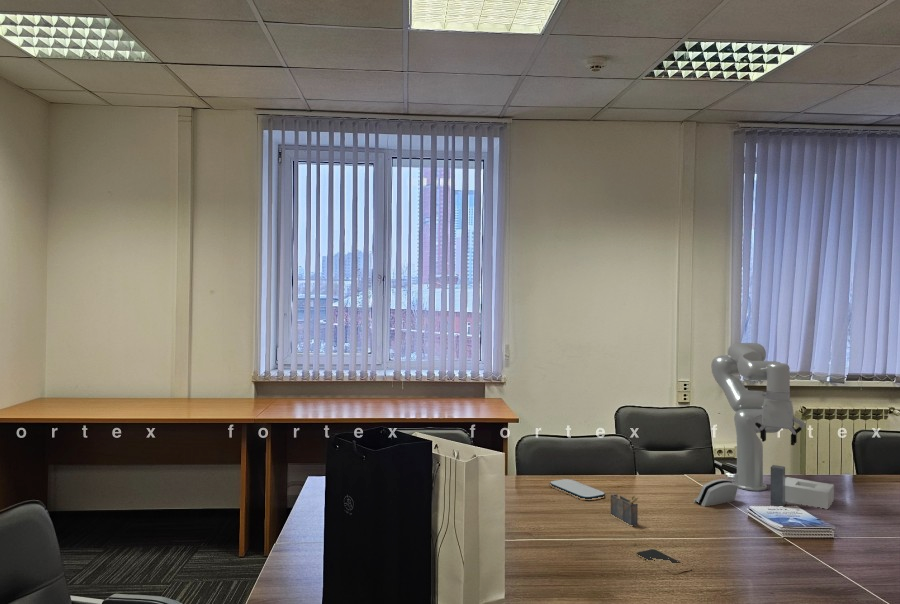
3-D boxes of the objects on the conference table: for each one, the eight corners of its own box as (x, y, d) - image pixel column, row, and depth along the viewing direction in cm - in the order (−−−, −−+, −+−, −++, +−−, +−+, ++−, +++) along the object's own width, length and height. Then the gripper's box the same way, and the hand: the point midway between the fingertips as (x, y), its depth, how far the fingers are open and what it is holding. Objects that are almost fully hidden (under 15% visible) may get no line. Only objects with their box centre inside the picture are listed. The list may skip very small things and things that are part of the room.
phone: (673, 573, 163) (634, 552, 177) (673, 576, 163) (634, 555, 177) (693, 568, 166) (654, 548, 180) (693, 571, 166) (654, 551, 180)
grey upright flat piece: (638, 526, 201) (638, 497, 201) (631, 528, 200) (631, 498, 200) (618, 515, 211) (618, 488, 211) (610, 516, 210) (610, 488, 210)
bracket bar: (770, 504, 223) (770, 466, 224) (773, 502, 226) (773, 464, 227) (782, 507, 221) (782, 468, 221) (785, 504, 224) (785, 466, 224)
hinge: (723, 496, 233) (731, 474, 230) (733, 504, 229) (741, 481, 226) (692, 502, 225) (700, 479, 222) (702, 510, 221) (710, 487, 218)
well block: (778, 500, 229) (778, 484, 229) (786, 492, 240) (786, 476, 240) (827, 509, 219) (827, 492, 219) (833, 500, 229) (833, 484, 229)
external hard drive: (546, 486, 246) (546, 481, 246) (568, 483, 251) (568, 478, 251) (585, 503, 225) (585, 497, 225) (608, 499, 230) (608, 493, 230)
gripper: (750, 395, 227) (750, 441, 226) (802, 399, 216) (802, 448, 215) (755, 393, 232) (755, 438, 232) (806, 397, 221) (806, 444, 221)
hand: (778, 442), depth 224 cm, fingers open, 9 cm apart
